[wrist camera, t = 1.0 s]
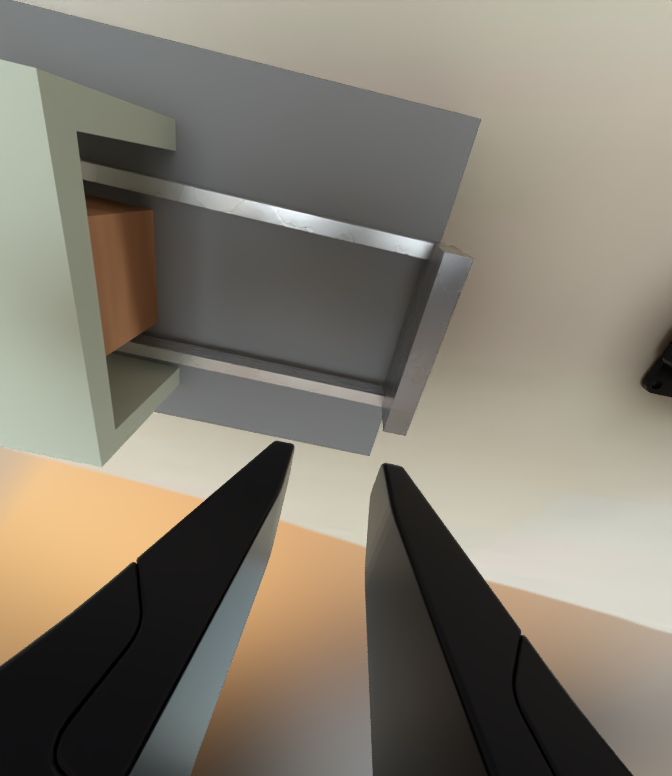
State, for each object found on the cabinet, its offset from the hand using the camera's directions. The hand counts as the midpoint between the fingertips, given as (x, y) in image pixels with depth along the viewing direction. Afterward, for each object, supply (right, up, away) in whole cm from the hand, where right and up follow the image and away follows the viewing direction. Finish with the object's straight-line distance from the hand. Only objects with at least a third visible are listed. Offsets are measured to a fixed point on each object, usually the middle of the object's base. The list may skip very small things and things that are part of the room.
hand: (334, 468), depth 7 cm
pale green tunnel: (-10, +7, +9) cm, 15 cm away
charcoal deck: (-9, +8, +11) cm, 16 cm away
